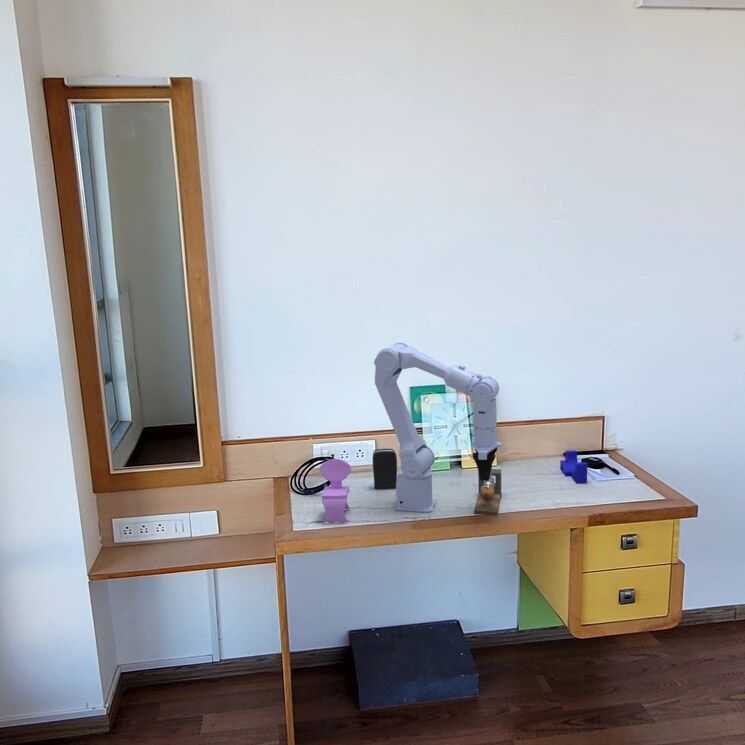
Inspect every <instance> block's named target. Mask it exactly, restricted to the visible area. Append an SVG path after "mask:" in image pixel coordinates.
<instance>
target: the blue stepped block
mask: <svg viewBox="0 0 745 745" xmlns="http://www.w3.org/2000/svg"><path fill="white" fill-rule="evenodd" d="M564 457H565V458H564V460H563V459H562V460H559V467H560V468H559V469H560V471H561V473H562V474H563V475H564V476H565V477H570V478H572V480H573V482H574V483H575V484H576V485H578V484H579V485H581V484H582V485H586V484H588V463H587V461H584V462H578V451H577V450H574V449H573V450H565V456H564ZM585 483H586V484H585Z"/></svg>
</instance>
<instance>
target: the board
mask: <svg viewBox="0 0 745 745" xmlns="http://www.w3.org/2000/svg"><path fill="white" fill-rule="evenodd" d="M501 497H502V493H501V494H494V495H493V497H492V498H491V499H489V500H486V499H483V498H482V497H481V495H480V493H479V492H478V494H477V498H476V502H475V505H474V510H473V514H474V515H482V514H483V516H484V515H485V516H498V515H499V510H500V509H499V508H500V504H501V499H502V498H501Z"/></svg>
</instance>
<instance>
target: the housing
mask: <svg viewBox="0 0 745 745" xmlns="http://www.w3.org/2000/svg"><path fill="white" fill-rule="evenodd" d="M477 474H478V480H477V481H478V483H477V484H478V493H480V490H481V487H482V486H483V485H484V483H485V481H483V480H480V477H479V472H477ZM490 476H492V477H495V478H494V484H493V488H494V494H501V495H502V469H499V468H492V469H491V473H490Z"/></svg>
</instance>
